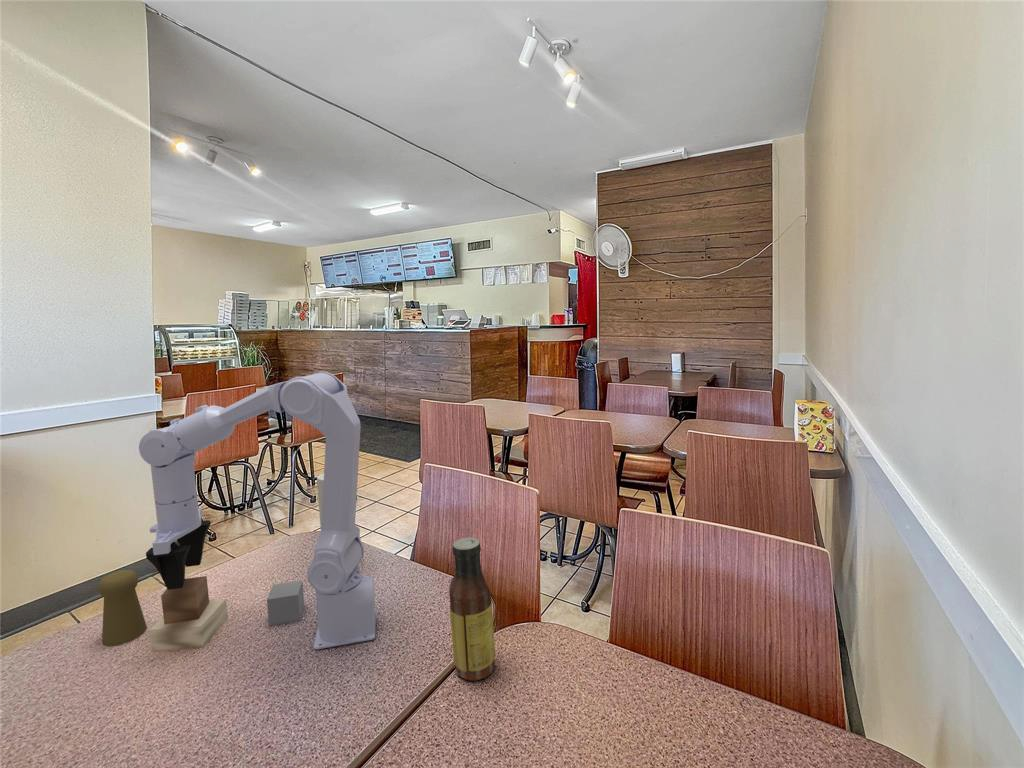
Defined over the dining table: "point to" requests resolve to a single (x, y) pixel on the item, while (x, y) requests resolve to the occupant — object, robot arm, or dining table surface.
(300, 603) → the slate cube
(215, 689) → the dining table surface
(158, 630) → the sticky note pad
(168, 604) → the walnut cube
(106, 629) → the olive round-headed peg
